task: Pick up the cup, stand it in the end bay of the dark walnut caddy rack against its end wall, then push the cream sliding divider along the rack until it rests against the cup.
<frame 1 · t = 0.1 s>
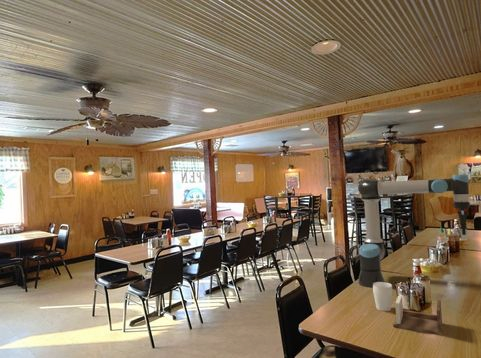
hand: (463, 238, 187), 28 cm above the table, fingers open, 13 cm apart
rack: (417, 325, 143), on the table
cup: (383, 309, 163), on the table
divider: (399, 309, 147), point 6 cm above the table, slide at 0.0 cm
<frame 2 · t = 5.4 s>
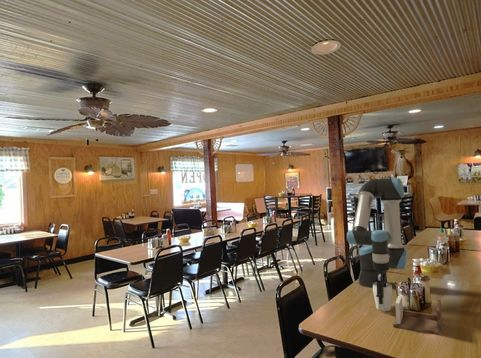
hand: (383, 306, 163), 1 cm above the table, fingers closed on cup, 9 cm apart
cup: (383, 309, 163), on the table, touching gripper
everything else where it was.
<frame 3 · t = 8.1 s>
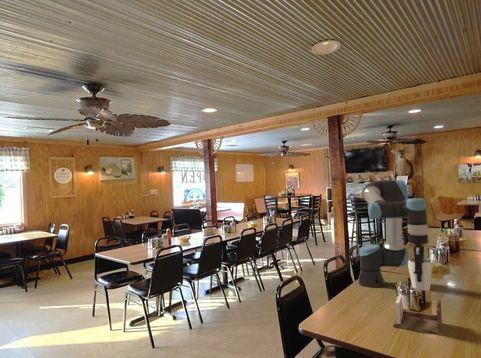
hand: (421, 285, 142), 18 cm above the table, fingers closed on cup, 9 cm apart
cup: (421, 288, 142), point 17 cm above the table, touching gripper
everything else where it was.
when the fingers open (4 cm above the table, at t = 11.1 s): cup drops 2 cm, resting on rack.
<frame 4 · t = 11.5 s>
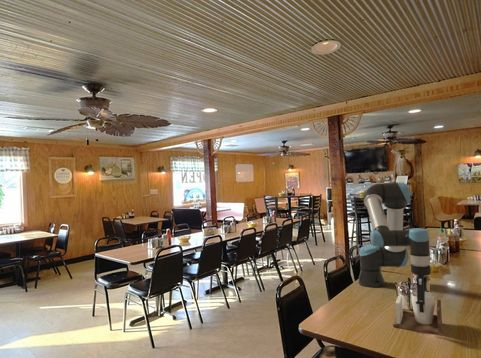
hand: (423, 313, 142), 6 cm above the table, fingers open, 13 cm apart
cup: (424, 321, 143), point 1 cm above the table, touching gripper, rack
everything else where it was.
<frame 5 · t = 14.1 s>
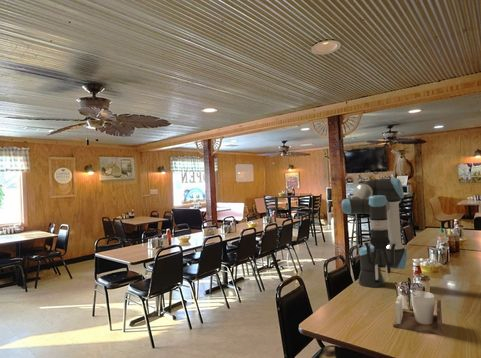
hand: (382, 279, 150), 19 cm above the table, fingers open, 4 cm apart
cup: (424, 321, 143), point 1 cm above the table, touching rack
everything else where it was.
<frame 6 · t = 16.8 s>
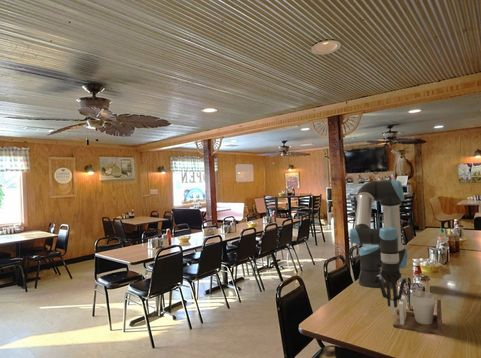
hand: (393, 313, 148), 3 cm above the table, fingers closed
divider: (402, 309, 146), point 6 cm above the table, slide at 1.5 cm, touching gripper
everything else where it was.
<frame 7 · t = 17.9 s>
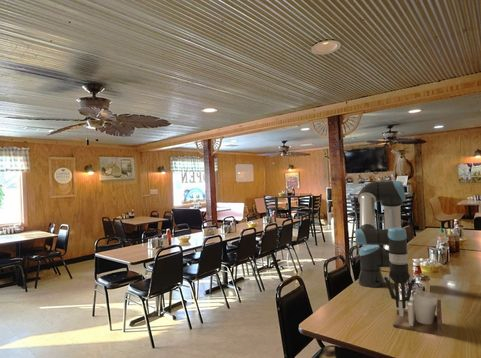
hand: (401, 315, 146), 3 cm above the table, fingers closed
cup: (424, 321, 143), point 1 cm above the table, touching divider, rack
divider: (411, 310, 144), point 6 cm above the table, slide at 4.9 cm, touching cup, gripper
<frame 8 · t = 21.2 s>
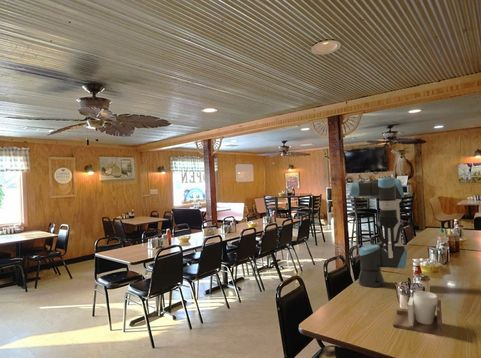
hand: (390, 257, 159), 26 cm above the table, fingers closed
divider: (411, 310, 144), point 6 cm above the table, slide at 4.9 cm, touching cup
everything else where it was.
at the end: cup inside the target area on the rack (2.3 cm from its centre), point 1.2 cm above the rack's base; cup tilted 4°; divider slide at 4.9 cm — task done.
